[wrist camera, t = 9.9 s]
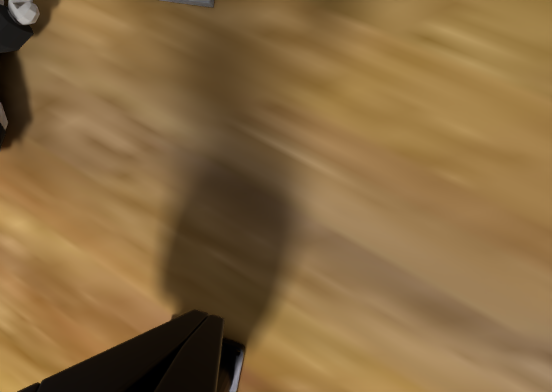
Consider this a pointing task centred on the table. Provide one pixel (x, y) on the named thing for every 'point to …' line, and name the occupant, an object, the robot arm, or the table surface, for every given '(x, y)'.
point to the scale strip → (195, 2)
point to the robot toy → (15, 35)
